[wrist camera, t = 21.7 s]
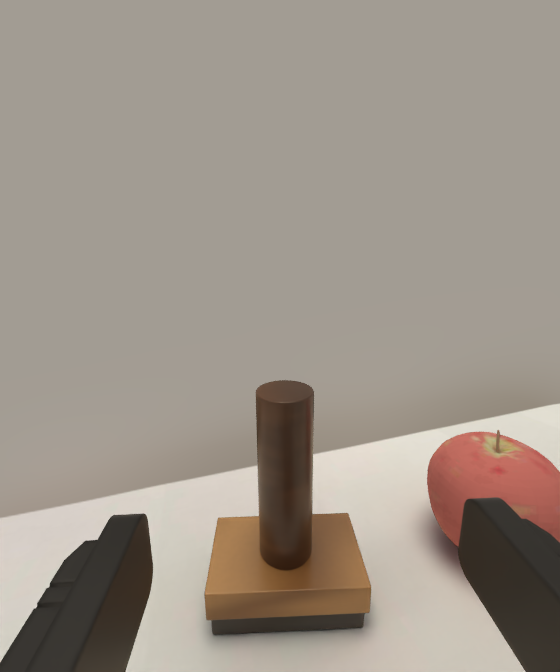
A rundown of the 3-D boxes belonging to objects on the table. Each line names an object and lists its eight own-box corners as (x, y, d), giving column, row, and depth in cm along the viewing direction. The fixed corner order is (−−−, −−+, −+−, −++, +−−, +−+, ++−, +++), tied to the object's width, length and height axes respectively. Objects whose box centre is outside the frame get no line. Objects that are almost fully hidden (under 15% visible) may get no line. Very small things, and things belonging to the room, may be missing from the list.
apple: (404, 508, 26) (413, 408, 24) (500, 503, 27) (516, 404, 25) (460, 606, 19) (479, 475, 17) (590, 596, 20) (622, 467, 18)
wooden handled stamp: (207, 639, 18) (191, 415, 15) (220, 555, 22) (209, 374, 20) (368, 632, 18) (383, 411, 15) (346, 550, 23) (354, 371, 20)
